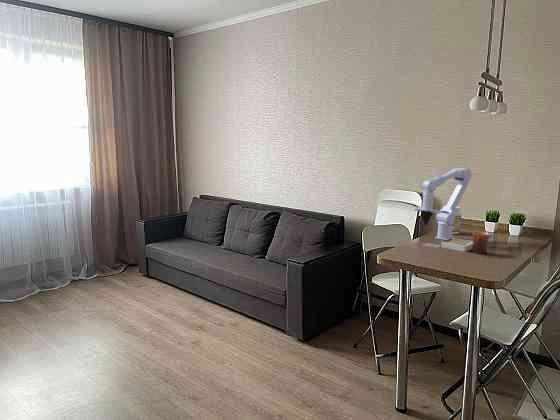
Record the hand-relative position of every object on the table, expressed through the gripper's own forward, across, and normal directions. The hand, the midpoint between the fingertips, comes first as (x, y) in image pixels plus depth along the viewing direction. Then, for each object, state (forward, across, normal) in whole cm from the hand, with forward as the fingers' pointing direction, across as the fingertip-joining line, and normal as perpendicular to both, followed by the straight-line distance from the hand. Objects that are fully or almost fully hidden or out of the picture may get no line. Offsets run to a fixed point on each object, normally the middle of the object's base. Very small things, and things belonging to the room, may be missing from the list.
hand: (426, 224), depth 250 cm
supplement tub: (+10, +2, +34) cm, 36 cm away
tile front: (+10, +22, -3) cm, 25 cm away
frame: (+9, +20, -3) cm, 22 cm away
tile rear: (+10, +17, -3) cm, 20 cm away
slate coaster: (+10, +9, -11) cm, 17 cm away
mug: (+10, +33, -9) cm, 36 cm away
